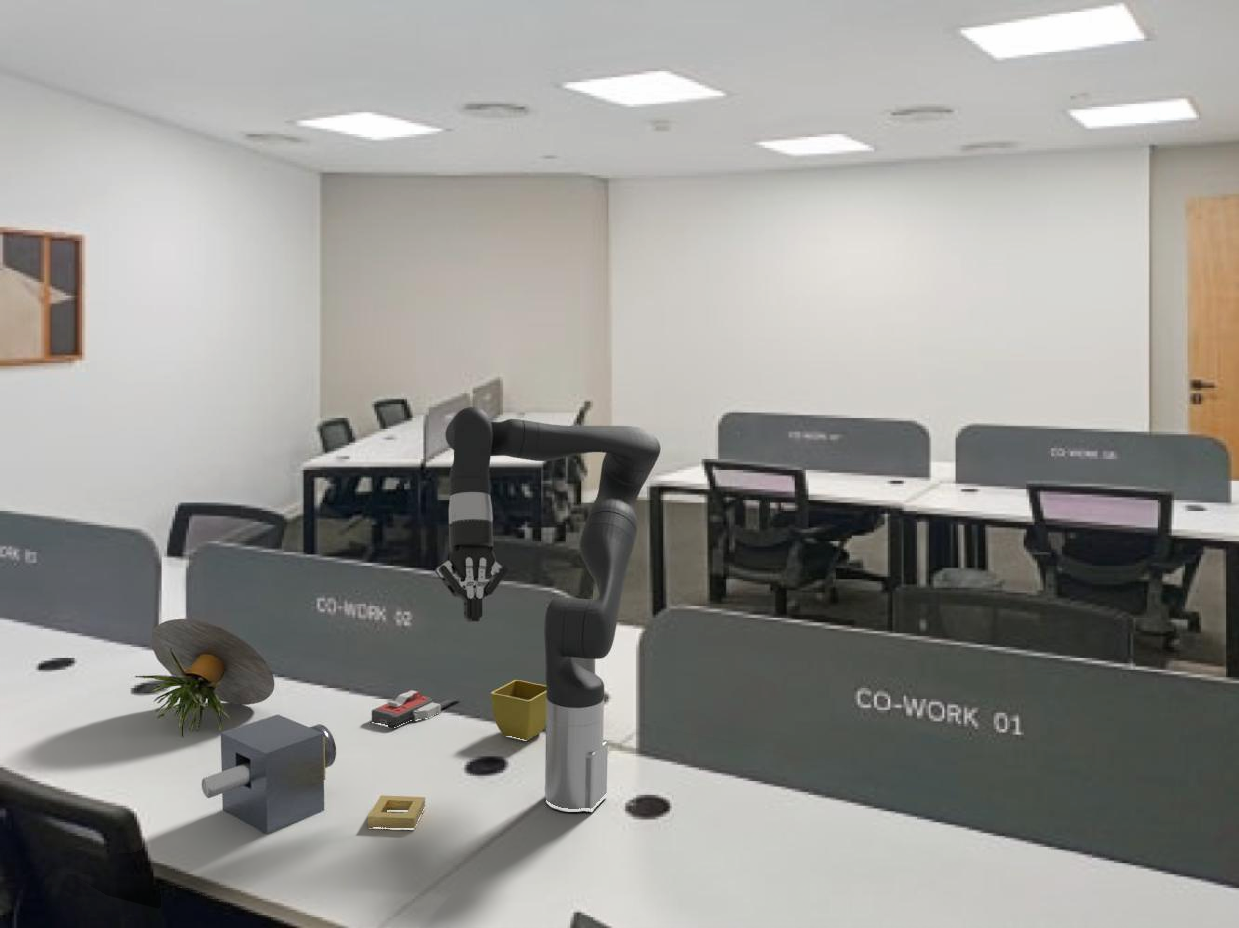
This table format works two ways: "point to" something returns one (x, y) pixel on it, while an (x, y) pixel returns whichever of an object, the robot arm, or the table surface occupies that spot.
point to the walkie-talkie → (407, 709)
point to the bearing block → (275, 772)
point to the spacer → (396, 820)
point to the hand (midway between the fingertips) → (473, 621)
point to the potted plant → (207, 668)
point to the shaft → (243, 772)
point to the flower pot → (520, 709)
